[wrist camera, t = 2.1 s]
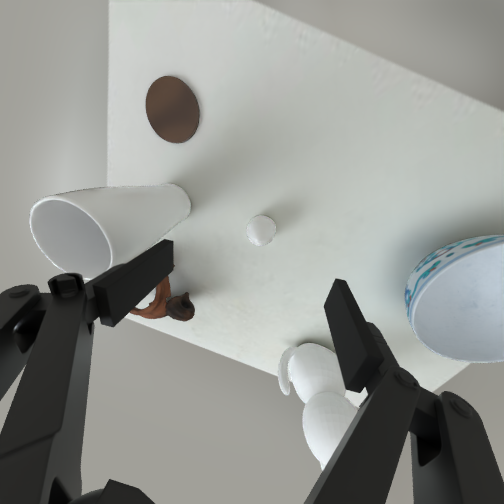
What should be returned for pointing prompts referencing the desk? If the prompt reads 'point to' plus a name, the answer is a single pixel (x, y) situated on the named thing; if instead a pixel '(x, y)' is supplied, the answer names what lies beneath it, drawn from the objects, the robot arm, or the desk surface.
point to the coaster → (172, 109)
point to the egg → (261, 230)
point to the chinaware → (460, 300)
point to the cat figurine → (318, 396)
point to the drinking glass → (105, 224)
